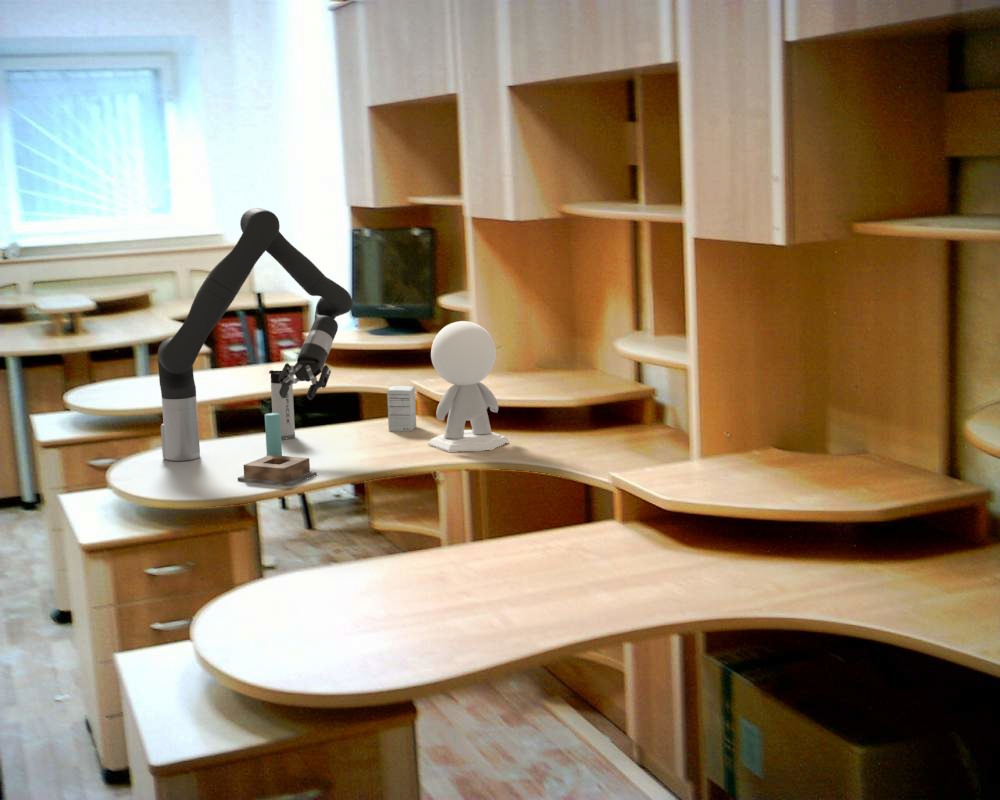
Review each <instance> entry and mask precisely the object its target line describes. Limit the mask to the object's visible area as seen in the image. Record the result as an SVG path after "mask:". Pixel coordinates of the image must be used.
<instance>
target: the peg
mask: <svg viewBox="0 0 1000 800" xmlns="http://www.w3.org/2000/svg"><path fill="white" fill-rule="evenodd" d="M264 426H265V443H266V444H265V447H266V456H268V455H278V456H283V448H282V439H281V425H280V414H279V413H272V412H270V413H265V414H264Z"/></svg>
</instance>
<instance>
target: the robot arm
mask: <svg viewBox="0 0 1000 800" xmlns="http://www.w3.org/2000/svg"><path fill="white" fill-rule="evenodd" d="M239 225H240V230H241V232H242V233H241V236H240V237H239V239H238V241H237V242H236V244H235V246H234V247H233V248H232V250H231V251H230V252H229V253H228V254H227V255H226V256H225V257H223V258H222V259H221V260H220V261H219V262H218V263H217V264H216V265H215V266H214V267H213V269H212V270H211V271H210V272H209V274H207V277H206V278H205V280H204V281H203V283H202V284H201V285H200V287H199V289H198V291H197V293H196V295H195V297H194V298H193V299H194V300H193V302H192V304H191V306H190V308H189V309H190V310H189V312H188V313H187V316H186V318H185V320H184V322H183V323H182V325H181V326H180V328H179V329H178V330H177V332H176V333H175V335H174V336H171V337H168V338H167V339H165V340H163V341H162V342H161V343H160V344H159V347H158V350H157V368H158V378H159V387H160V394H161V407H162V419H163V420H162V422H163V423H161V424H160V433H161V434H160V435H161V436H160V437H161V439H160V440H161V450H162V451H161V452H162V459H165V460H167V461H171V462H172V461H173V462H182V461H192V460H195V459H198V458H200V457H201V449H200V447H201V446H200V435H199V433H200V432H199V431H200V430H199V416H198V404H197V403H198V401H197V389H196V388H197V386H196V382H195V377H194V367H193V366H194V364H195V362H196V359H197V358H198V357H199V353H200V351H201V349H202V348H203V346H204V344H205V342H206V340H207V338H208V336H209V335H210V333H211V332H212V331H213V329H214V328H215V327H216V325H217V324H218V323H219V322H220V321H221V319H222V318H223V316H224V315H225V313H226V312H227V310H228V308H230V306H231V304H232V302H233V301H234V300H235V298H236V297H237V295H238V293H239V292H240V290H241V288H242V287H243V285H244V283H245V282H246V280H247V279H248V277H249V275H250V274H251V272H252V270H253V269H254V266H255V265H256V264H257V262H258V260H259V259H260V258H261V256H263V254H265V252H266V253H268V254H269V255H270V256H271V257H273V259H274V260H275V261H276V262H277V263H278V264H279V265H280V266H281V267H282V268H283V270H285V271H286V272H287V273H288V274H289V276H290V277H291V278H292V279H293V280H294V282H296V283H297V284H298V285H299V286H300V287H301V288H302V290H304V291H305V292H306V294H308V295H309V296H311V297H320V298H319V299H318V301H317V303H316V307H315V311H314V320H313V322H312V325H311V328H310V330H309V332H308V334H307V336H306V337H305V340H304V342H303V344H302V347H301V349H300V351H299V353H298V356H297V358H296V359H297V360H296V363H295V364H294V365H290V364H289V363H285V364H284V365H283V368H282V370H281V371H282V372H281V374H280V376H279V378H278V381H279V382H280V383H281V385H282V386H281V389H280V391H279V394H280V396H281V397H282V398H285V397H286V395H287V393H288V390H289V387H290V386H291V385H293V386H294V384H298V383H299V382H309V383H310V382H311V384H310V385H309V388H308V391H307V393H306V396H305V397H306V398H307V399H308V400H309V401H312V400H313V399H314V398H315V396H316V394H317V391H318V390H319V389H320V388H322V389H325V388H326V387H327V385H328V382H329V379H330V376H331V372H332V370H331V368H330V367H329V366H328V365H326V361H327V358H328V356H329V354H330V351H331V349H332V346H333V342H334V339H335V337H336V335H337V333H338V328H339V325H338V324H339V323H338V322H337V321H336V318H337V317H339V316H341V315H344V314H347V313H349V312H350V311H351V310H352V309H353V303H354V301H353V299H352V296H351V294H350V293H349V292H348V290H347V289H345V288H344V287H343V286H341V285H340V284H338V283H337V282H335V281H334V280H332V279H330V278H329V277H327V275H325V274H324V273H323V271H321V270H320V269H319V268H318V267H317V266H316V265H315V263H313V262H312V261H311V260H310V259H309V258H308V257H307V256H306V255H304V253H302V252H301V251H300V250H298V249H297V248H296V247H295V246H294V245H293V244H292V243H290V242H289V240H287V239H286V238H285V236H284V235H283V234H282V233H281V232H280V226H281V225H280V221H279V218H278V216H277V215H276V214H275V213H274V212H272V211H270V210H267V209H264V208H259V207H254V208H250V209H248V210H246V211H244V213H243V214H242V215H241V218H240V223H239ZM294 376H295V378H294ZM317 376H319V378H317ZM289 380H291V381H290V382H288V381H289Z"/></svg>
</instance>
